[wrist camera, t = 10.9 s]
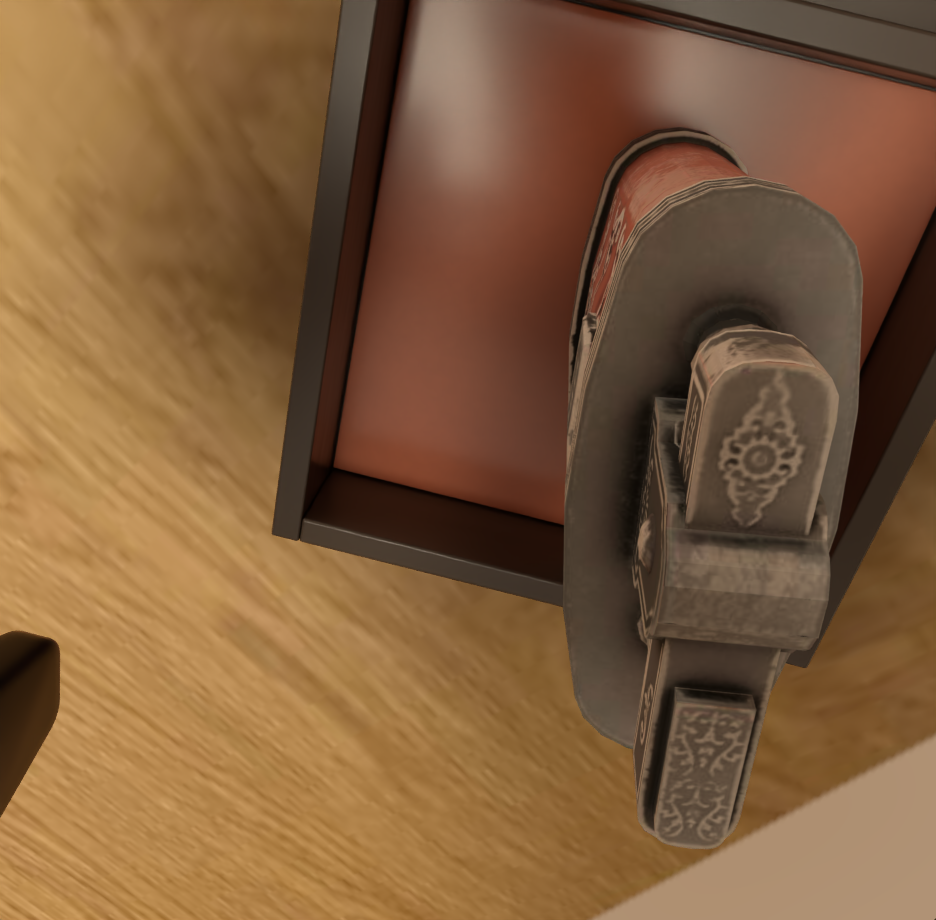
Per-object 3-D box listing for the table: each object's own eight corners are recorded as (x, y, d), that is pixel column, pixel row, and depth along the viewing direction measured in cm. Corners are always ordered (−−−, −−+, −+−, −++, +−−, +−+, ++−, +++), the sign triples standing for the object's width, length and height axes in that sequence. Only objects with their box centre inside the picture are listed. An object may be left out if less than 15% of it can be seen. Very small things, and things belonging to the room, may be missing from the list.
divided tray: (1486, -911, 10) (1795, -1238, 8) (778, 590, 20) (807, 669, 18) (548, -1130, 10) (539, -1529, 8) (309, 473, 20) (270, 535, 18)
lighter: (587, 122, 16) (601, 219, 7) (774, 130, 15) (1045, 244, 6) (554, 502, 19) (535, 893, 10) (705, 514, 19) (820, 930, 10)
